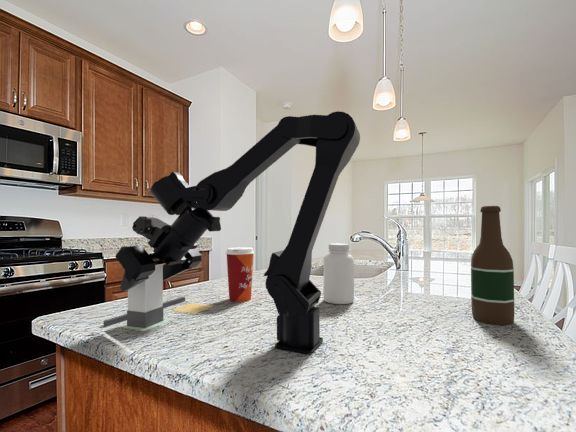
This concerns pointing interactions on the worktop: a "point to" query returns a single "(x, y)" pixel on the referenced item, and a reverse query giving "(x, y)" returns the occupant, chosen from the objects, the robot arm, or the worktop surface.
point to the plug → (146, 301)
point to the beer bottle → (492, 273)
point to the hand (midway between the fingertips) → (140, 285)
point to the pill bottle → (338, 275)
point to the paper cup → (240, 273)
